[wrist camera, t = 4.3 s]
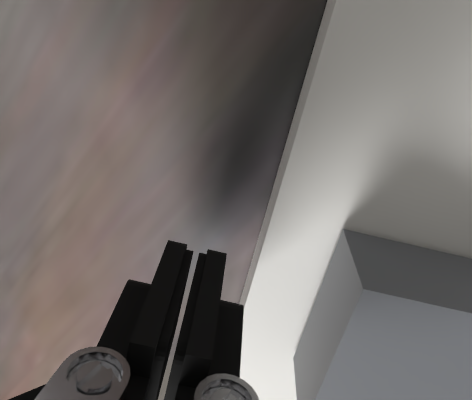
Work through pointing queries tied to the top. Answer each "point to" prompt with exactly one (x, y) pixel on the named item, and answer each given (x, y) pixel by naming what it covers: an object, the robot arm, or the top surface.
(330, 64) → the white rectangular board
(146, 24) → the top surface
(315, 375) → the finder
